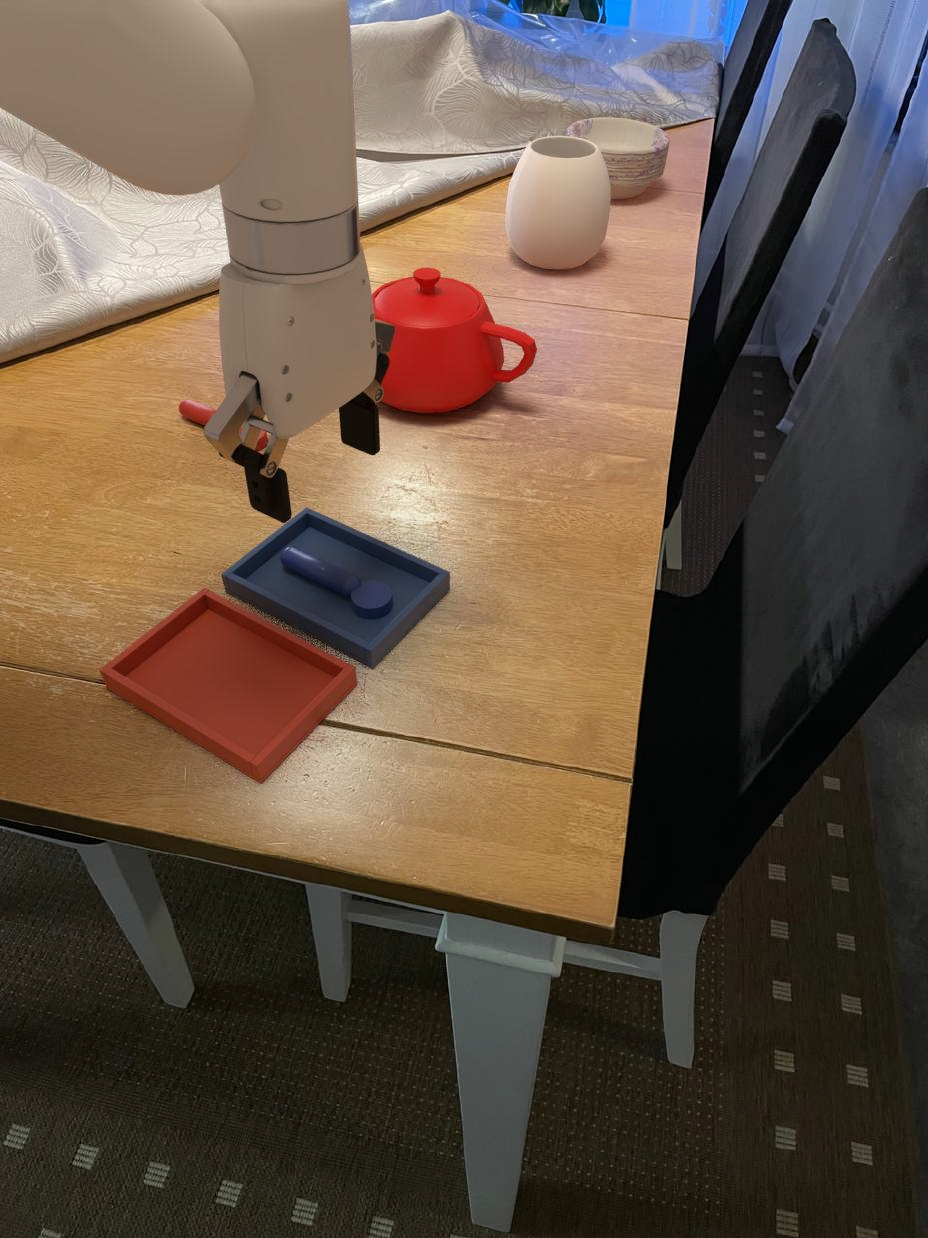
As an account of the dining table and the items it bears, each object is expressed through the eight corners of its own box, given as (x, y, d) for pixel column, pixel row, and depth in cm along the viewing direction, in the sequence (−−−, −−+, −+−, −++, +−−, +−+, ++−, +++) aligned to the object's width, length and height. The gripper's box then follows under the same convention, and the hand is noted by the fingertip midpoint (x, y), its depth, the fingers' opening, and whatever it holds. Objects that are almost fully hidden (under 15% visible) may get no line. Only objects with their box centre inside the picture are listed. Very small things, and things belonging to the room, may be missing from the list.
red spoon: (171, 420, 87) (167, 404, 85) (195, 406, 89) (191, 390, 87) (252, 456, 83) (249, 439, 81) (274, 440, 85) (272, 424, 83)
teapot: (559, 378, 93) (570, 265, 85) (500, 453, 84) (506, 334, 75) (356, 327, 101) (347, 218, 92) (279, 391, 91) (262, 275, 82)
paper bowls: (675, 204, 129) (686, 146, 123) (576, 210, 127) (582, 150, 121) (642, 168, 139) (650, 113, 134) (549, 173, 137) (554, 117, 132)
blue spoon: (271, 573, 71) (268, 556, 69) (297, 551, 73) (294, 534, 71) (376, 625, 67) (375, 608, 65) (401, 601, 69) (400, 584, 67)
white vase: (622, 270, 113) (639, 157, 103) (530, 286, 109) (538, 171, 99) (574, 231, 121) (585, 124, 112) (487, 245, 118) (491, 135, 108)
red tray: (106, 687, 62) (98, 670, 61) (208, 604, 69) (204, 586, 67) (261, 783, 57) (256, 766, 56) (357, 684, 63) (355, 666, 62)
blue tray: (225, 591, 70) (220, 573, 68) (308, 524, 76) (306, 506, 74) (372, 668, 64) (371, 651, 63) (450, 589, 70) (450, 571, 69)
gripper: (337, 176, 57) (352, 410, 69) (129, 264, 46) (189, 522, 58) (433, 203, 54) (431, 441, 66) (235, 303, 43) (275, 565, 55)
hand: (318, 479), depth 62 cm, fingers open, 9 cm apart
